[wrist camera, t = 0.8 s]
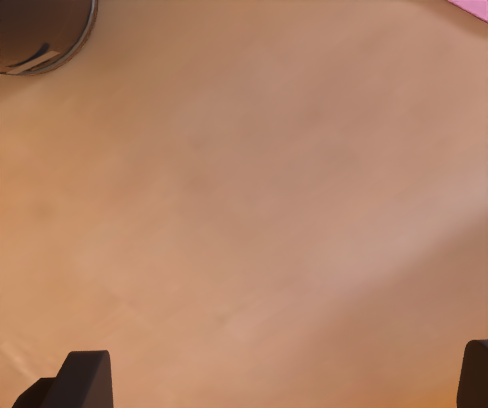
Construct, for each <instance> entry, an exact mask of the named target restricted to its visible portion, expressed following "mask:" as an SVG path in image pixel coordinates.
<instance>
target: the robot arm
mask: <svg viewBox="0 0 488 408" xmlns="http://www.w3.org/2000/svg"><path fill="white" fill-rule="evenodd" d="M97 9H98V0H0V74H5V75H16V76H28V75H36V74H41V73H45V72H48V71H51V70H53V69H55V68H58V67H59V66H61V65H63V64H64V63H66V62H67V61H68V60H70V59H71V58H72V57H73V56H74V55H75V54H76V53H77V52H78V51H79V50H80V49H81V48H82V46H83V45H84V43H85V42H86V40H87V39H88V37H89V35H90V33H91V31H92V28H93V26H94V22H95V19H96V15H97ZM12 408H114V407H113V393H112V378H111V363H110V355H109V352H108V351H107V350H102V351H72V352H70V353H69V354H68V356H67V358H66V359H65V361H64V363H63V365H62V367H61V369H60V370H59V372H58V374H57V376H56V377H54V378H40V379H39V380H38V381H37V382H35V383H34V384H33V385H32V386H31V387H29V388H28V389H27V390H26V391H25V392H23V393H22V394H21V395H20V396H19V397H18V398H17V400H16V402H15V403H14V405H13V406H12ZM457 408H488V339H487V340H471V341H469V342H468V343H467V345H466V347H465V351H464V357H463V363H462V369H461V375H460V381H459V387H458V393H457Z"/></svg>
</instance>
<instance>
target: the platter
mask: <svg viewBox="0 0 488 408" xmlns="http://www.w3.org/2000/svg"><path fill="white" fill-rule="evenodd" d="M447 1H449V2H450V3H452V4H454V5H456V6H458V7H460V8H461V9H463V10H465V11H467V12H469V13H470V14H472V15H474V16H476V17H478V18H480V19H481V20H483V21H485V22H487V23H488V0H447Z"/></svg>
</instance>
